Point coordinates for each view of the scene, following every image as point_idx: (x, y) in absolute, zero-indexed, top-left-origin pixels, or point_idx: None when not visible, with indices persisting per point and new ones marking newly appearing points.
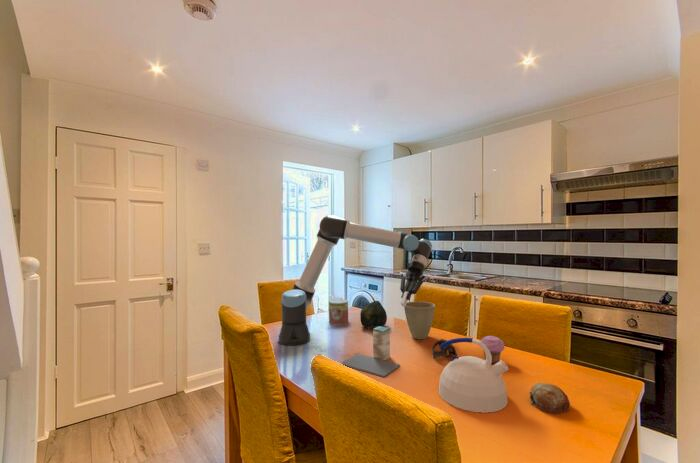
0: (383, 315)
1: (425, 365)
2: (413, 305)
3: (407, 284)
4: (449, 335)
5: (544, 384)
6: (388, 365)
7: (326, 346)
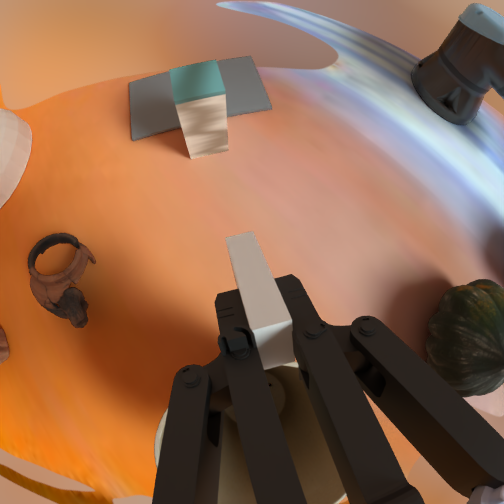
0: (445, 357)
1: (85, 193)
2: None
3: (338, 422)
4: None
5: None
6: (151, 115)
7: (375, 101)
